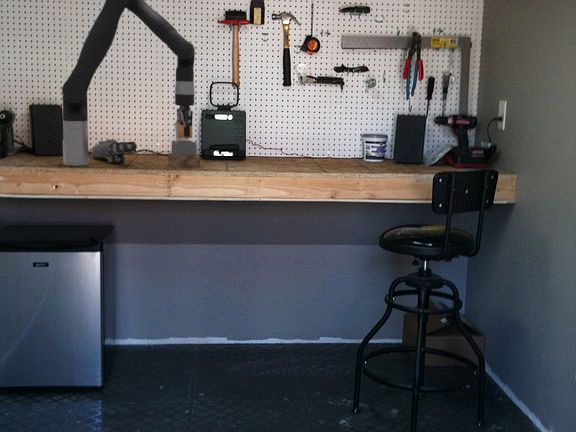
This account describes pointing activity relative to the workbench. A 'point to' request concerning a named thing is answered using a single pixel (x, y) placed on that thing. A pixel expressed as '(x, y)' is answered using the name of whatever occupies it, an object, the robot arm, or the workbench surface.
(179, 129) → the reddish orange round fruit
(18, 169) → the workbench surface
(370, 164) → the workbench surface
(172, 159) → the tower base
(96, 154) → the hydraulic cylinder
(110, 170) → the workbench surface
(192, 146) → the grey square block
